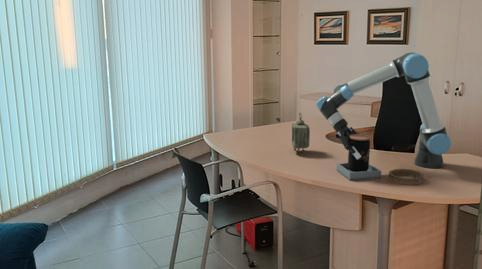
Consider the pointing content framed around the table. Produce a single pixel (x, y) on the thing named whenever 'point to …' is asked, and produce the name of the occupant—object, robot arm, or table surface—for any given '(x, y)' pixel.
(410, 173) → the ring guard
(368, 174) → the tray
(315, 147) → the table surface
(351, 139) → the coffee jar
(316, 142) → the table surface
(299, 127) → the green lantern
